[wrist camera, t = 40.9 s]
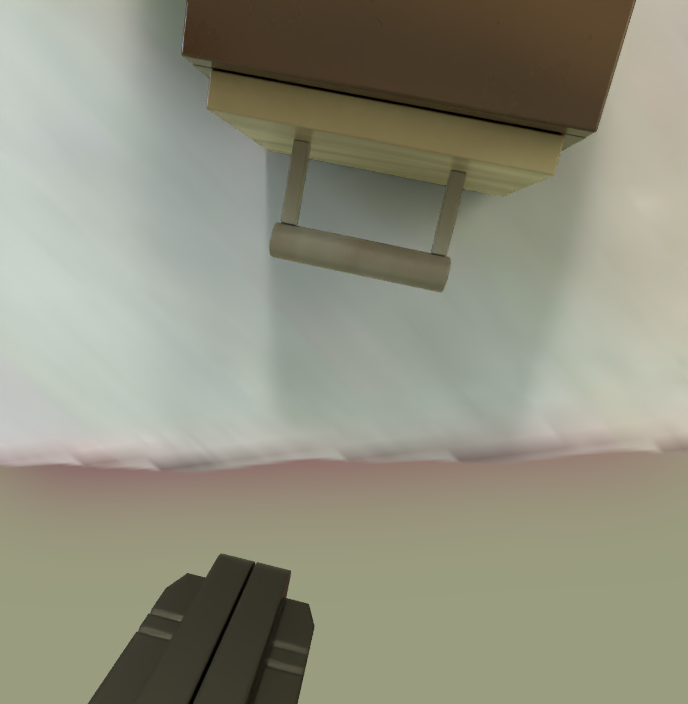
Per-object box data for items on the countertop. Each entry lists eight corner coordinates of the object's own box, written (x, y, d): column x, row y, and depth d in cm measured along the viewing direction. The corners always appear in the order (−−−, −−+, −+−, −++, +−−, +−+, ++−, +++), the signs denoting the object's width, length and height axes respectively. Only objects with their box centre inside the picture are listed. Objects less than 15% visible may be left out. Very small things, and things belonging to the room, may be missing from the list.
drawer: (478, 291, 24) (514, 315, 16) (253, 244, 25) (188, 246, 17) (595, -150, 20) (717, -393, 12) (319, -191, 20) (270, -444, 13)
